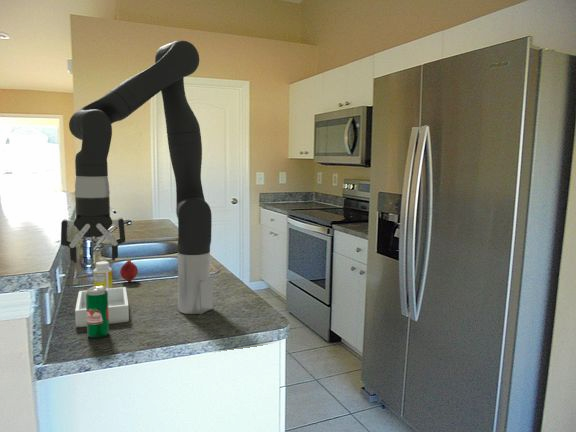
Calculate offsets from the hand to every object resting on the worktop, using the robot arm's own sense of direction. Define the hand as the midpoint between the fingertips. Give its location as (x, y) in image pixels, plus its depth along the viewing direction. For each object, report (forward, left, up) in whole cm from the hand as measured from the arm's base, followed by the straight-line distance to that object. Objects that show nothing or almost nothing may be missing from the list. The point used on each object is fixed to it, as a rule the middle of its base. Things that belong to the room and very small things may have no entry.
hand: (94, 261), depth 109 cm
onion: (+29, -39, -19) cm, 52 cm away
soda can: (0, 0, -19) cm, 19 cm away
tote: (+11, -12, -19) cm, 25 cm away
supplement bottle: (+26, -25, -19) cm, 41 cm away
